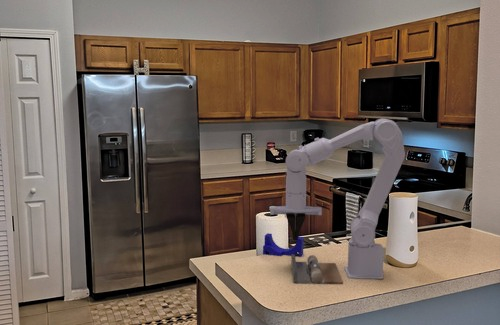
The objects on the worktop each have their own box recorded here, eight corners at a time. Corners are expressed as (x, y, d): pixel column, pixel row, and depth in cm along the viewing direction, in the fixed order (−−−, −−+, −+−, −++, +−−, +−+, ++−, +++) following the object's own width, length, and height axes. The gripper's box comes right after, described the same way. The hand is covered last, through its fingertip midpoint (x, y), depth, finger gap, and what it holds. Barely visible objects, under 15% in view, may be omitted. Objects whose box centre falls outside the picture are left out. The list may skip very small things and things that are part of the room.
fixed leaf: (335, 265, 142) (335, 255, 141) (342, 284, 127) (343, 273, 126) (307, 265, 142) (307, 255, 142) (311, 284, 127) (311, 272, 127)
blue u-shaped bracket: (262, 255, 152) (263, 236, 151) (267, 251, 156) (267, 233, 155) (299, 259, 148) (300, 240, 147) (303, 255, 152) (303, 236, 151)
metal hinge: (317, 264, 142) (317, 254, 142) (322, 283, 127) (323, 272, 127) (291, 264, 142) (291, 254, 142) (293, 283, 127) (293, 271, 127)
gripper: (320, 190, 139) (319, 235, 140) (270, 189, 139) (269, 235, 141) (323, 194, 132) (321, 242, 134) (270, 194, 132) (270, 241, 134)
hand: (295, 239), depth 137 cm, fingers closed
